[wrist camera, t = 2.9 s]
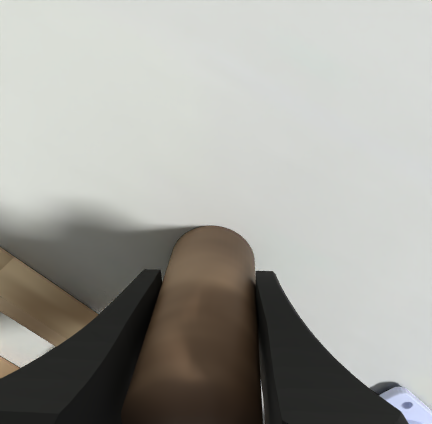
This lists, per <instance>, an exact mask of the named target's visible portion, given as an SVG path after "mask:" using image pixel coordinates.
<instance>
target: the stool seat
mask: <svg viewBox="0 0 432 424" xmlns="http://www.w3.org/2000/svg"><path fill="white" fill-rule="evenodd" d="M0 312H2V313H3V314H5V315H7V316H8V317H10V318H11V319H13V320H15V321H16V322H18V323H19V324H21V325H22V326H24V327H26V328H27V329H29V330H30V331H32V332H34V333H35V334H37V335H38V336H40V337H42V338H43V339H45V340H46V341H48V342H49V343H51V344H53V345H54V346H58V345H60V344H61V343H63V342H64V341H66V340H67V339H69V338H70V337H71V336H73V335H74V334H75V333H77V332H78V331H79V330H81V329H82V328H83V327H85V326H86V325H87V324H88V323H90V322H91V321H92V320H93V319H94V318H95V317H96V316H98V315H99V314H97V313H96V312H94V311H93V310H91V309H90V308H89V307H87V306H86V305H84V304H83V303H81V302H80V301H78V300H77V299H75V298H74V297H72V296H71V295H70V294H68V293H67V292H65V291H64V290H62V289H61V288H59V287H58V286H56V285H55V284H53V283H52V282H51V281H49V280H48V279H46V278H45V277H43V276H42V275H40V274H39V273H37V272H36V271H34V270H33V269H31V268H30V267H29V266H27V265H26V264H24V263H23V262H21V261H20V260H18V259H17V258H15V257H14V256H12V255H11V254H10V253H8V252H7V251H5V250H4V249H2V248H1V247H0ZM18 369H20V368H19V367H17V366H15V365H14V364H12V363H10V362H9V361H7V360H5V359H4V358H2V357H0V378H3V377H5V376H7V375H8V374H10V373H12V372H14V371H16V370H18Z"/></svg>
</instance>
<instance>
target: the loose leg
mask: <svg viewBox="0 0 432 424" xmlns="http://www.w3.org/2000/svg"><path fill="white" fill-rule="evenodd" d="M121 421H122V424H263V417H262V398H261V378H260V359H259V339H258V320H257V307H256V289H255V261H254V254H253V251H252V249H251V247H250V245H249V244H248V243H247V241H246V240H245V239H244V238H243V237H242V236H240V235H239V234H237V233H236V232H234V231H232V230H230V229H227V228H224V227H219V226H203V227H198V228H195V229H193V230H190V231H189V232H187V233H185V234H184V235H183V236H182V237H181V238H180V239H179V240H178V241H177V243H176V244H175V246H174V248H173V251H172V254H171V257H170V260H169V264H168V267H167V270H166V273H165V276H164V279H163V282H162V285H161V289H160V292H159V295H158V298H157V301H156V304H155V307H154V310H153V313H152V317H151V320H150V323H149V326H148V329H147V332H146V335H145V338H144V341H143V345H142V348H141V351H140V354H139V357H138V360H137V363H136V366H135V370H134V373H133V376H132V379H131V382H130V385H129V388H128V391H127V394H126V398H125V401H124V404H123V407H122V411H121Z"/></svg>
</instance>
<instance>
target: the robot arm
mask: <svg viewBox="0 0 432 424" xmlns="http://www.w3.org/2000/svg"><path fill="white" fill-rule="evenodd" d="M161 285H162V279H161V270H147V269H144V270H143V271H142V272H141V273H140V274H139V275H138V276H137V277H136V278H135V279H134V281H133V282H132V283H131V284H130V285H129V286H128V287H127V288H126V289H125V290H124V291H123V292H122V293H121V294H120V295H119V296H118V297H117V298H116V299H115V300H114V301H113V302H112V303H111V304H110V305H109V306H108V307H107V308H105V309H104V310H103V311H102V312H101V313H100V314H99V315H98V316H96V317H95V318H94V319H93V320H92V321H91V322H90V323H88V324H87V325H86V326H85V327H83V328H82V329H81V330H79V331H78V332H77V333H75V334H74V335H73V336H71V337H70V338H69V339H67V340H66V341H64V342H63V343H61V344H60V345H58V346H56V347H55V348H53V349H52V350H50V351H49V352H47V353H46V354H44V355H43V356H41V357H39V358H38V359H36V360H34V361H32V362H31V363H29V364H27V365H25V366H24V367H22V368H20V369H18V370H16V371H14V372H12V373H10V374H8V375H7V376H5V377H3V378H0V424H122V421H121V411H122V407H123V404H124V401H125V398H126V394H127V391H128V388H129V385H130V382H131V379H132V376H133V373H134V370H135V366H136V363H137V360H138V357H139V354H140V351H141V348H142V345H143V341H144V338H145V335H146V332H147V329H148V326H149V323H150V320H151V317H152V313H153V310H154V307H155V304H156V301H157V298H158V295H159V292H160V289H161ZM255 289H256V307H257V320H258V339H259V359H260V377H261V385H262V392H263V400H264V412H265V424H432V410H431V409H430V408H428V407H427V406H426V405H425V404H424V403H423V402H421V401H420V400H419V399H418V398H417V397H416V396H414V395H413V394H412V393H411V392H410V391H409V390H407V389H406V388H404V387H394V388H392V389H390V390H388V391H386V392H384V393H382V394H380V395H377V394H376V393H375V392H373V391H372V390H371V389H369V388H368V387H367V386H366V385H364V384H363V383H362V382H361V381H359V380H358V379H357V378H356V377H355V376H354V375H352V374H351V373H350V372H349V371H348V370H347V369H346V368H345V367H344V366H343V365H342V364H341V363H339V362H338V361H337V360H336V359H335V358H334V357H333V356H332V355H331V354H330V353H329V352H328V351H327V349H326V348H325V347H324V346H323V345H322V344H321V343H320V342H319V341H318V339H317V338H316V337H315V336H314V335H313V334H312V332H311V331H310V330H309V328H308V327H307V326H306V325H305V323H304V322H303V321H302V319H301V318H300V316H299V315H298V313H297V312H296V311H295V309H294V307H293V306H292V304H291V303H290V301H289V300H288V298H287V296H286V295H285V293H284V291H283V289H282V287H281V285H280V283H279V281H278V279H277V277H276V274H275V273H274V272H273V271H256V280H255Z"/></svg>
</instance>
